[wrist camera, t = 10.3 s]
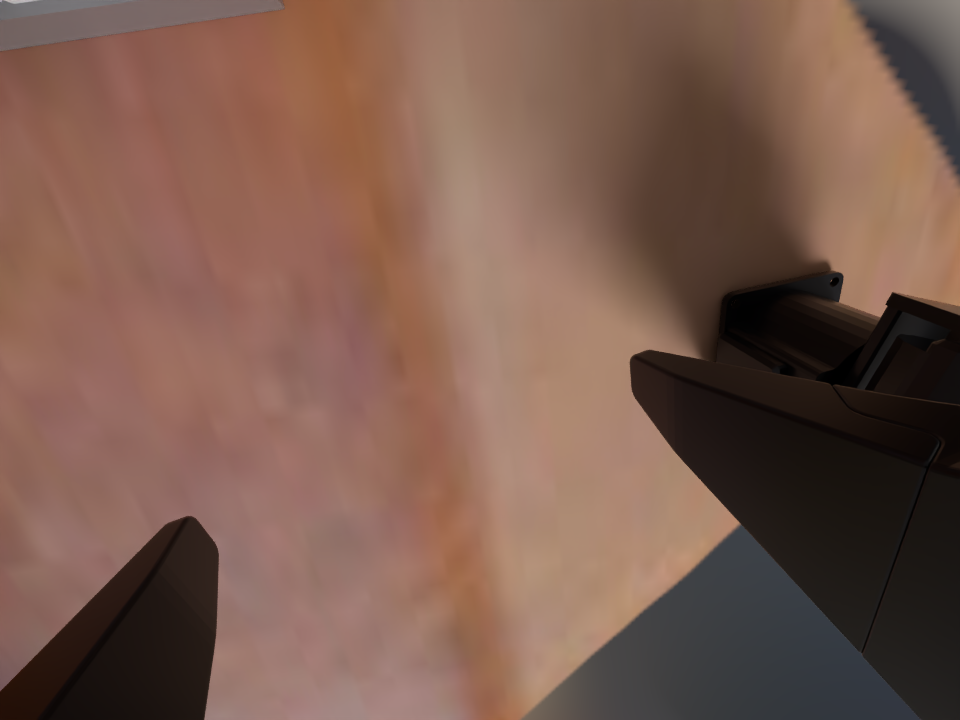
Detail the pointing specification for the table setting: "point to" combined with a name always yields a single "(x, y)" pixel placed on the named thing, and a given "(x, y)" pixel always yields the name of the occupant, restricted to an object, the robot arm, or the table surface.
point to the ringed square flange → (108, 17)
